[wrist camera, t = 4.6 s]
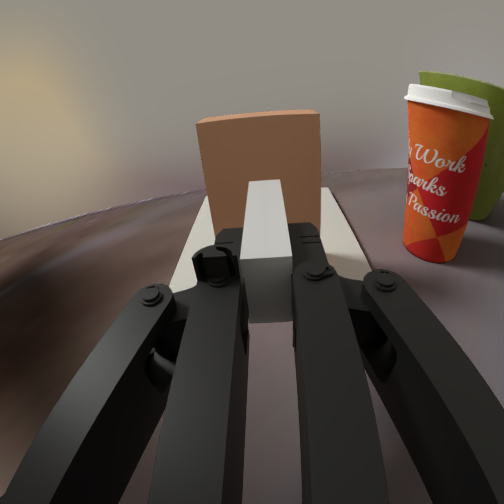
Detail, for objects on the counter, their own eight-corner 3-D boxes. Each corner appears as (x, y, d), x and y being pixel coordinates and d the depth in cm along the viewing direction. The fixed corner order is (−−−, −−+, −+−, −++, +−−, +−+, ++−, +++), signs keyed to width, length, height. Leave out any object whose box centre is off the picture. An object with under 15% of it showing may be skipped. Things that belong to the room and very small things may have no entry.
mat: (168, 300, 20) (166, 294, 20) (207, 200, 35) (206, 196, 35) (375, 288, 19) (377, 281, 19) (327, 191, 34) (327, 187, 34)
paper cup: (376, 233, 25) (384, 80, 17) (429, 220, 26) (442, 90, 19) (429, 281, 19) (461, 91, 11) (480, 259, 20) (510, 107, 12)
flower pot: (511, 209, 27) (526, 102, 18) (511, 254, 19) (541, 100, 11) (427, 178, 37) (433, 77, 28) (396, 207, 29) (402, 65, 20)
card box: (222, 277, 21) (195, 123, 15) (226, 257, 23) (204, 118, 17) (318, 271, 20) (319, 113, 14) (313, 251, 23) (311, 109, 17)
